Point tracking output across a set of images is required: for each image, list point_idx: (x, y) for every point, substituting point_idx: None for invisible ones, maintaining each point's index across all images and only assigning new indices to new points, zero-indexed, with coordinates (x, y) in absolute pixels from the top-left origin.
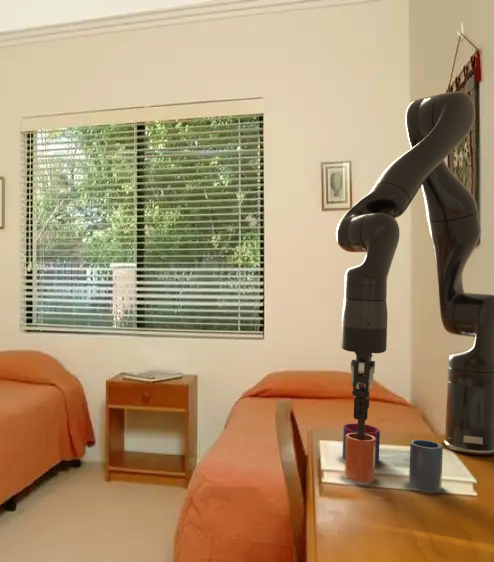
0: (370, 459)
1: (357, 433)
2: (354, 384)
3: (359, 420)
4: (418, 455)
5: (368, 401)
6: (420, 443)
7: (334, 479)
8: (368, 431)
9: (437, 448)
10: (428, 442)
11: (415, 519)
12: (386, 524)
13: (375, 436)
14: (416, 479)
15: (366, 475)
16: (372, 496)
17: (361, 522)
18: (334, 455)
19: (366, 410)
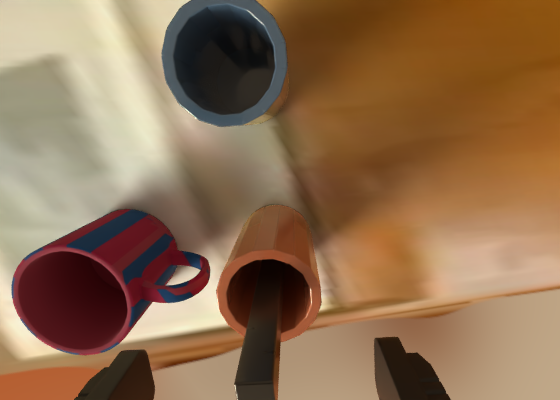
0: (301, 235)
1: (281, 315)
2: None
3: (278, 347)
4: (282, 93)
5: (120, 381)
6: (187, 89)
7: None
8: (37, 274)
9: (267, 11)
10: (176, 56)
11: (478, 94)
12: (536, 152)
13: (107, 249)
14: (283, 102)
15: (306, 227)
16: (372, 198)
17: (545, 202)
18: None
19: (416, 376)
